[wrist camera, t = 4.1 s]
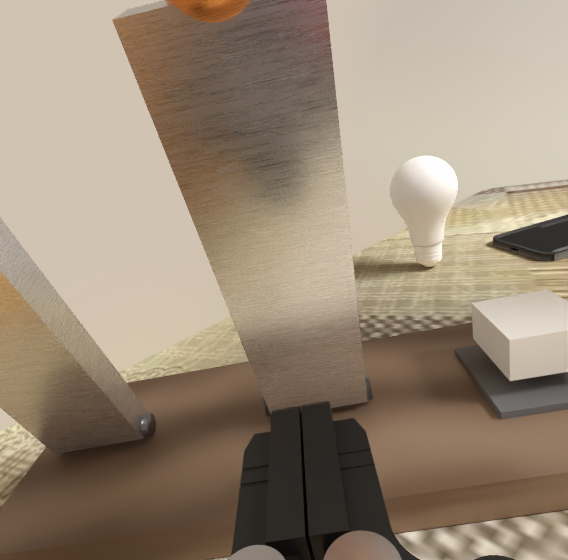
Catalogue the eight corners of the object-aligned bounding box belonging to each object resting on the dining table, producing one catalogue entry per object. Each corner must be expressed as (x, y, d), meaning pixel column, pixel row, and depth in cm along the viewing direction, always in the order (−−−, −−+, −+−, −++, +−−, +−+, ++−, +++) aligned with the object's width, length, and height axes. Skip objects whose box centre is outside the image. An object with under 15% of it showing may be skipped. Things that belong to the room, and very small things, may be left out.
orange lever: (376, 417, 21) (330, -169, 7) (269, 435, 21) (41, -91, 8) (365, 372, 23) (311, -148, 10) (267, 389, 23) (85, -88, 10)
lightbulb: (386, 269, 43) (373, 164, 40) (428, 252, 46) (420, 150, 42) (430, 283, 38) (421, 163, 34) (475, 262, 41) (471, 147, 37)
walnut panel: (747, 484, 16) (760, 436, 15) (-16, 590, 18) (-42, 553, 17) (557, 334, 27) (558, 302, 26) (98, 412, 30) (86, 385, 29)
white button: (598, 381, 19) (603, 324, 18) (509, 395, 19) (509, 340, 18) (547, 338, 23) (548, 289, 22) (473, 350, 23) (471, 303, 22)
